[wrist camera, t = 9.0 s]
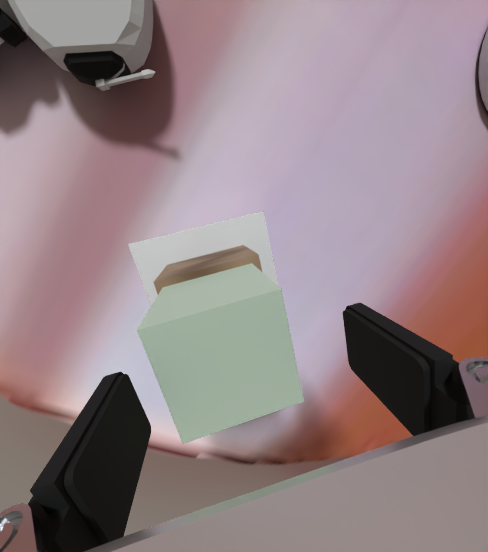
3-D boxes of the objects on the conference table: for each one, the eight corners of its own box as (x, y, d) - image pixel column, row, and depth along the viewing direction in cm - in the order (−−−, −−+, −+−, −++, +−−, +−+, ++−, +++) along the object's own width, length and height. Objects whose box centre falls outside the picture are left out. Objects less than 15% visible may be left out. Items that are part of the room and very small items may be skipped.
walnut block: (243, 245, 21) (258, 254, 15) (259, 313, 23) (278, 344, 17) (167, 264, 20) (153, 282, 15) (190, 333, 22) (185, 373, 16)
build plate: (260, 211, 22) (263, 211, 21) (283, 322, 25) (287, 327, 24) (132, 242, 21) (128, 244, 19) (173, 356, 24) (172, 363, 23)
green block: (251, 263, 15) (281, 288, 10) (269, 340, 17) (303, 401, 11) (162, 287, 15) (137, 329, 9) (189, 365, 16) (183, 444, 11)
